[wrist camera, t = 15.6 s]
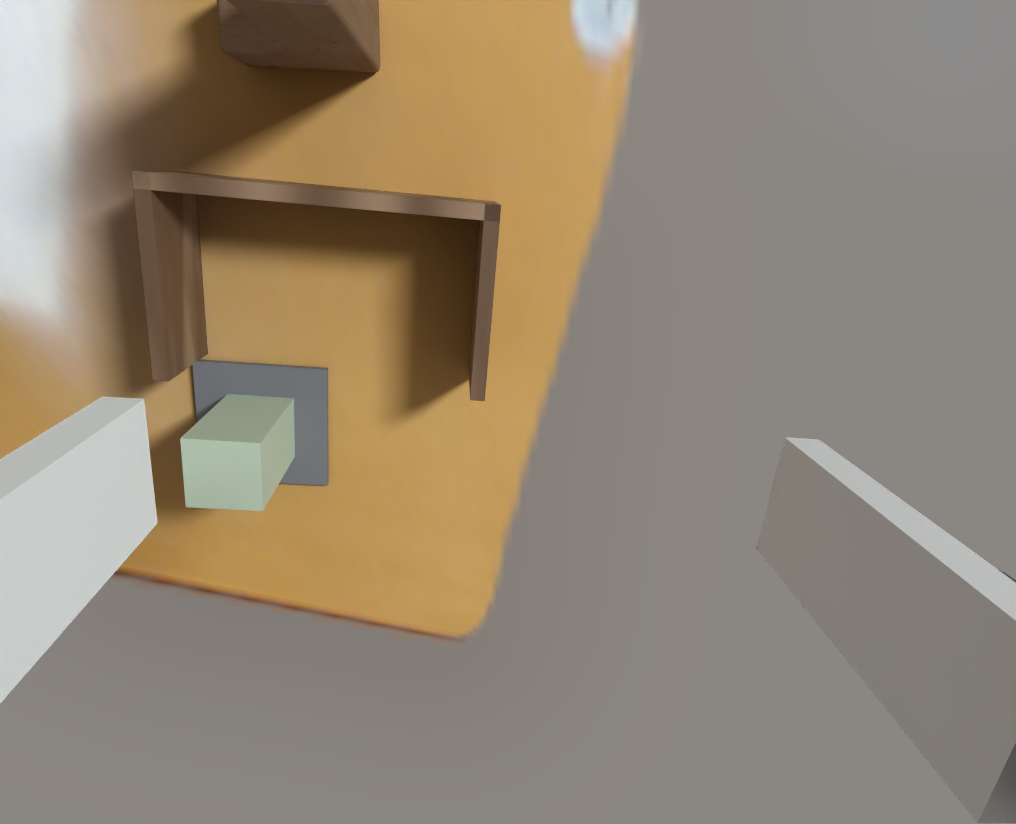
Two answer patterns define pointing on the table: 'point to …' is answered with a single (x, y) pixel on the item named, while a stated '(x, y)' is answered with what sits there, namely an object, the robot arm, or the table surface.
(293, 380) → the mat
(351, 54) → the wooden block
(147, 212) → the cubby
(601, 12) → the table surface
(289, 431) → the block
